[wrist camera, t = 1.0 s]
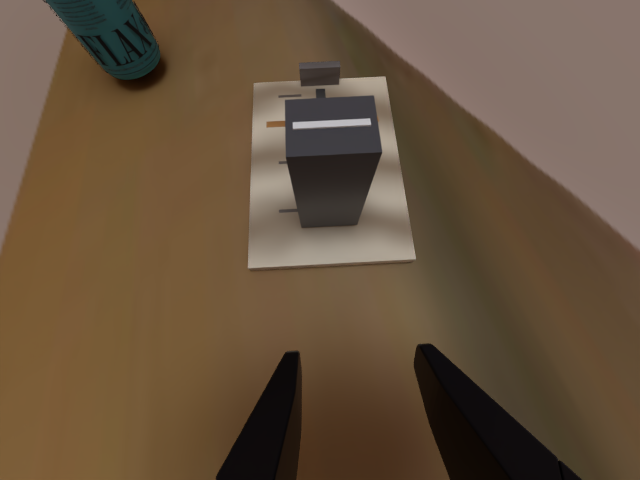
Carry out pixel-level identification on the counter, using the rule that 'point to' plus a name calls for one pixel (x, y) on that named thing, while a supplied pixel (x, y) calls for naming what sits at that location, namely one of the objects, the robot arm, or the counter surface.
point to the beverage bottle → (111, 34)
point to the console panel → (278, 197)
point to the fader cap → (331, 157)
